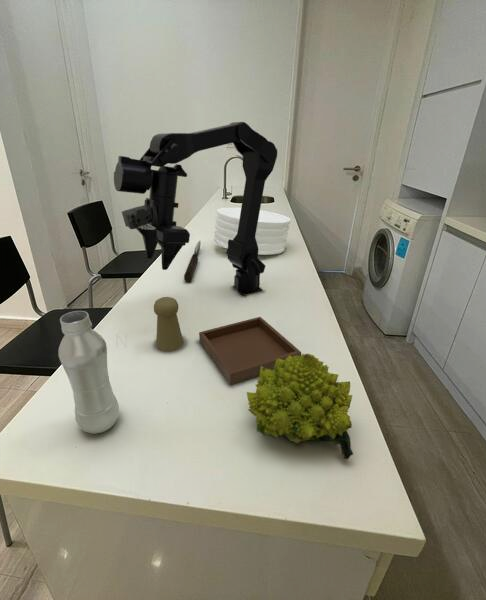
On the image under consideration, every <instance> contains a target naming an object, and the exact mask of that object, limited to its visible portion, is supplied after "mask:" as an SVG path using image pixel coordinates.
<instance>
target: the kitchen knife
mask: <svg viewBox="0 0 486 600" xmlns="http://www.w3.org/2000/svg"><path fill="white" fill-rule="evenodd" d="M200 250H201V240H199V241H198V242H197V243H196V245H195V247H194V251H193V252H194V253H193V254H192V256H191V258H190V261H189V263H188V265H187V267H186V269H185V272H184V274H183V275H184V276H183V277H184V278H183V279H184V281H185V283H191V282H192V279H193V276H194V273H195V270H196V267H197V264H198V261H199V257H198V256H199V253H200Z"/></svg>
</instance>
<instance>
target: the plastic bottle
mask: <svg viewBox="0 0 486 600" xmlns="http://www.w3.org/2000/svg"><path fill="white" fill-rule="evenodd" d="M59 322H60V326H61V329H60V330H61V333H62V334H63V335H64V336H63V337H62V339H61V341H60V344H59V346H58V353H57V357H58V359H59V361H60V363H61V366H62V367H63V369H64V371H65V374H66V376H67V378H68V381H69V384H70V387H71V390H72V394H73V395H72V396H73V401H74V402H73V403H74V417H75V422H76V423H77V426H78V427H79V428H80V429H81V430H82V431H83V432H85V433H87V434H95V435H97V434H101V433H104V432H106V431H108V430H110V429H111V428H112V427H113V426H114V425H115V424H116V422H117V421H118V419H119V416H120V405H119V402H118V400H117V397H116V395H115V394H114V391H113V388H112V385H111V381H110V376H109V369H108V347H107V342H106V340H105V338H104V337H103V336H102V335H101V334H100V333H98V331H96V330H94V329H93V328H92V327H93V323H92V321H91V319H90V314H89V313H88V312H87V311H84V310H74V311H70V312H67V313H65V314H63V315H62V316H61V317H60V318H59Z"/></svg>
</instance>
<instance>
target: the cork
mask: <svg viewBox="0 0 486 600" xmlns="http://www.w3.org/2000/svg"><path fill="white" fill-rule="evenodd" d="M179 308H180V307H179V302H178V300H177V299H176V298H174V297H171V296H162V297H160V298H158V299H156V300H155V302H154V303H153V311H154V314H155V315H156V344H155V345H156V348H157V349H158V350H159V351H161V352H164V353H165V352H166V353H170V352H175V351H178V350H179V349H182V347H183V346H184V338H183V334H182V330H181V326H180V322H179V318H178V312H179Z"/></svg>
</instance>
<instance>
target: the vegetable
mask: <svg viewBox="0 0 486 600" xmlns="http://www.w3.org/2000/svg"><path fill="white" fill-rule="evenodd" d="M324 363H325V361H320V360H319V358H317V357H316V356H314V355H313V354H311V353H301V356H297V355H296V356H294V355H293V357H292V356H290V355H289V356H288V357H287V358H285V361H284V360H282V359H279V358H276V362H275V366H274V370H269V369H265V368H264V367H262V366H261V368H260V376H258V377H257V379H258V380H257V381H256V384H255V385H254V386H255V387H256V390H255V392H250V391H246V397H247V402H248V405H249V407H248V409H247V411H249V412H250V413H251V414H252V415H253V416H254V417H255V423H256V432H258V433H260V434H261V435H262V436H263V437H264V436H268V435H271V436H272V437H275V438H276V439H278V438H279V436H280V437H284V438H287V439H288V441H289V442H294V443H295V444H300V443H301V442H302V441H303V442H304V441H308V440H309V441H311V440H314V441H317V443H322V442H326V443H329V444H331V445H336V446H338V445H339V447H340V451H341V455H342V458H343V460H344V461H345V460H346V461H347V460H348V461H349V459H350V457H351V456H353V455H354V452H353V450H352V444H351V443H352V442H351V437H350V435H349V432H348V430H349V429H350V428H351V429H352V427H353V423H352V420H351V416H350V415H349V414H348V412H349V409H350V408H351V402H352V399H353V394H349V393H350V391H351V381H340V382H339V381H338V378H339V374H337V373H331V372H329V366H328V364H325V365H324Z"/></svg>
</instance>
